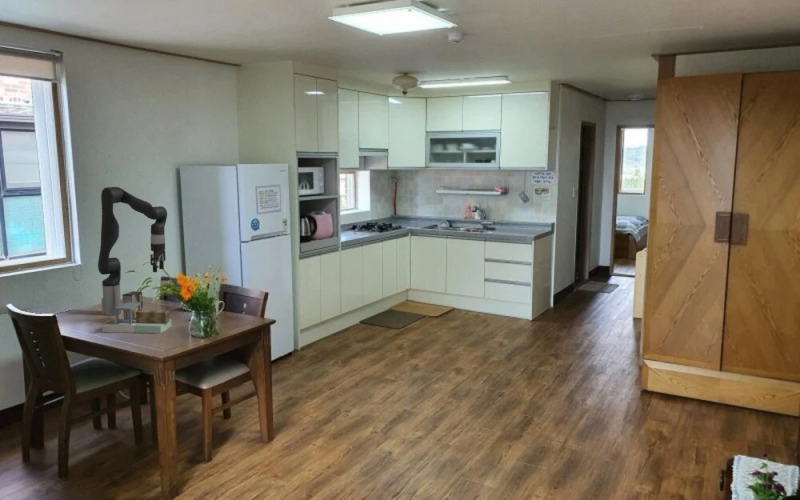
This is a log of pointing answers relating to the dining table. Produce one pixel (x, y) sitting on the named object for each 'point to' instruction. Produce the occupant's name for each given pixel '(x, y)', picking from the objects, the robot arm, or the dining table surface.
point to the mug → (218, 305)
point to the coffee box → (132, 297)
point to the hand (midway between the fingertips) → (158, 270)
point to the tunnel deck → (132, 322)
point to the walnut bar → (152, 316)
